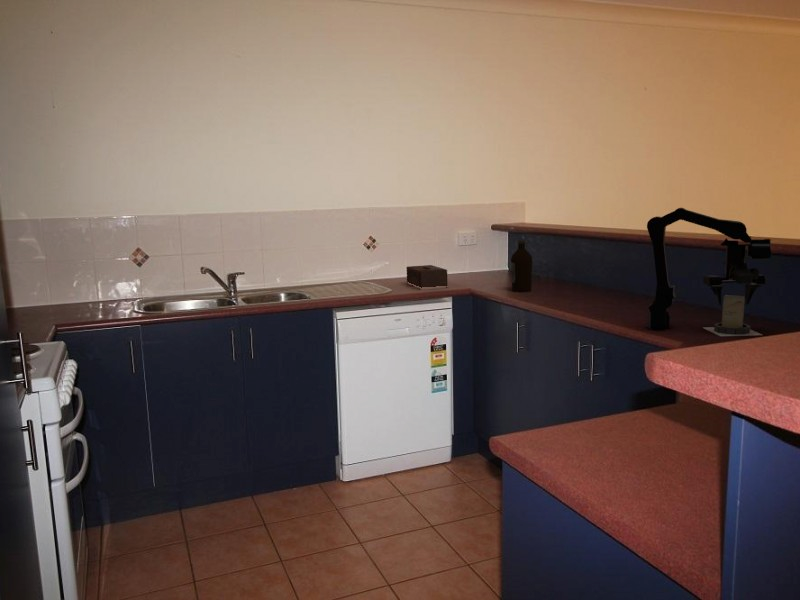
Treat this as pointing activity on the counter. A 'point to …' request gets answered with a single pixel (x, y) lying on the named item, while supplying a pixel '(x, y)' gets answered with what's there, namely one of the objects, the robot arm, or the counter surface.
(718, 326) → the dark grey ring
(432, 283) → the tissue box cover
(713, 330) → the grey base plate
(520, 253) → the olive oil
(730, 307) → the skincare box
